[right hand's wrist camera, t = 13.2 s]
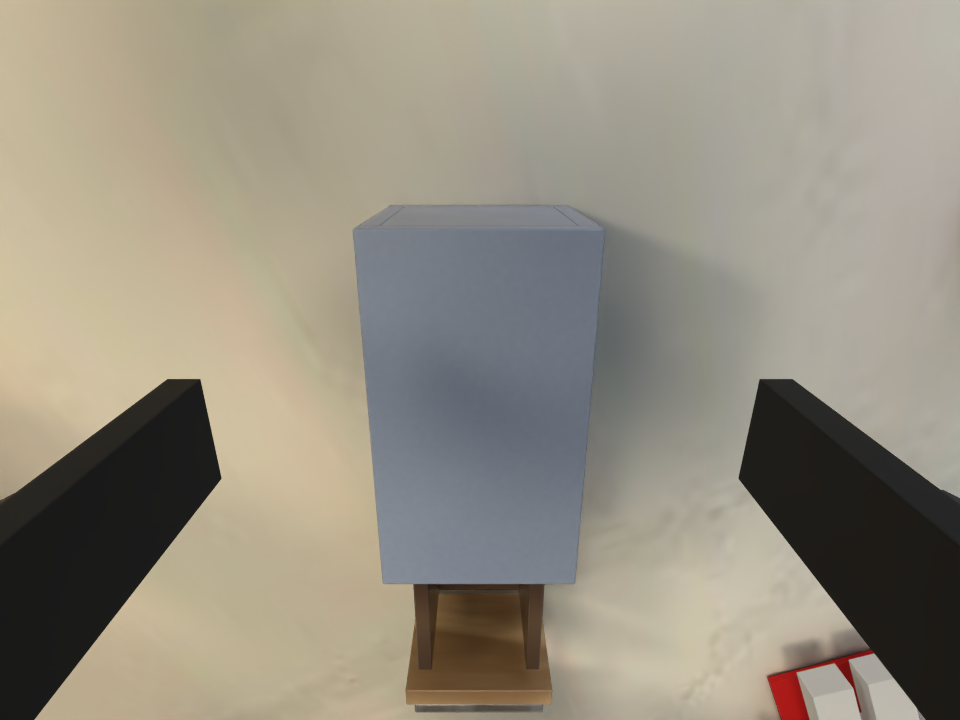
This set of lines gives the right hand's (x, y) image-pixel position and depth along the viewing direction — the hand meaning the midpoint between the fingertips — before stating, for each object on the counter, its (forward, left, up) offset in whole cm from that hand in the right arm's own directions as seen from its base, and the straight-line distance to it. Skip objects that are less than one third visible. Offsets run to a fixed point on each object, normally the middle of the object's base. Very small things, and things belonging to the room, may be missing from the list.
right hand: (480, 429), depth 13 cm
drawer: (+10, -16, -18) cm, 26 cm away
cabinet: (+3, -5, -19) cm, 20 cm away
